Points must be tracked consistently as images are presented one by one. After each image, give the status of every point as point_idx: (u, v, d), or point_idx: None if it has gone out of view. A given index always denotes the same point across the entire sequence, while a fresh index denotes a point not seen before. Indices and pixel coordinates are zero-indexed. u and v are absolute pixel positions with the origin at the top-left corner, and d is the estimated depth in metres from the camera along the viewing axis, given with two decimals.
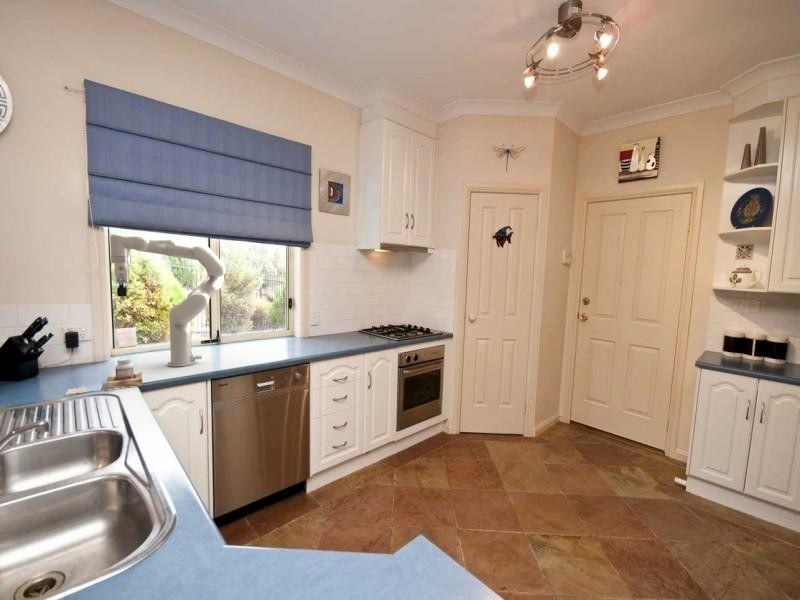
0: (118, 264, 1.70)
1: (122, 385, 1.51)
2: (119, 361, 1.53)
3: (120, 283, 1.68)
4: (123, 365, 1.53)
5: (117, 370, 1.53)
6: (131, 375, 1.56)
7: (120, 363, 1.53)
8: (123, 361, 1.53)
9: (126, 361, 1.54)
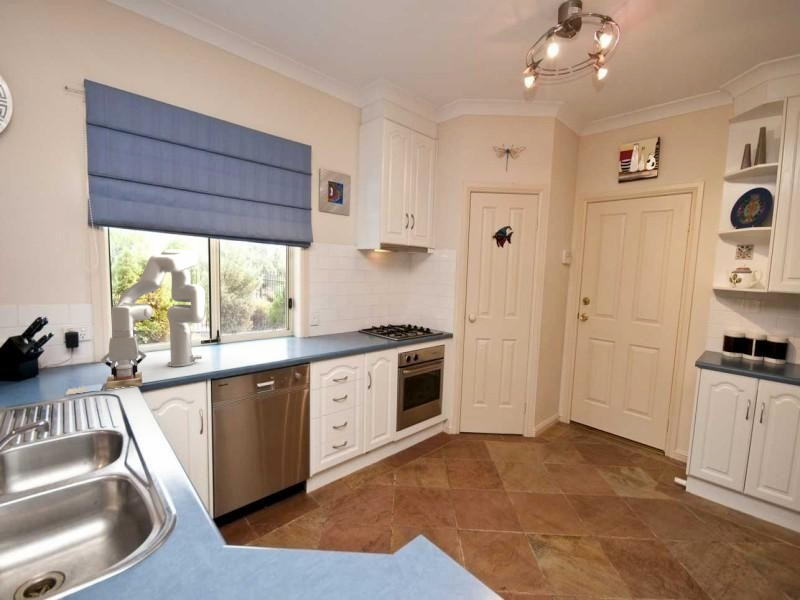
0: (136, 338, 1.57)
1: (122, 385, 1.51)
2: (119, 361, 1.53)
3: (142, 359, 1.59)
4: (123, 365, 1.53)
5: (117, 370, 1.53)
6: (131, 375, 1.56)
7: (120, 363, 1.53)
8: (123, 361, 1.53)
9: (126, 361, 1.54)
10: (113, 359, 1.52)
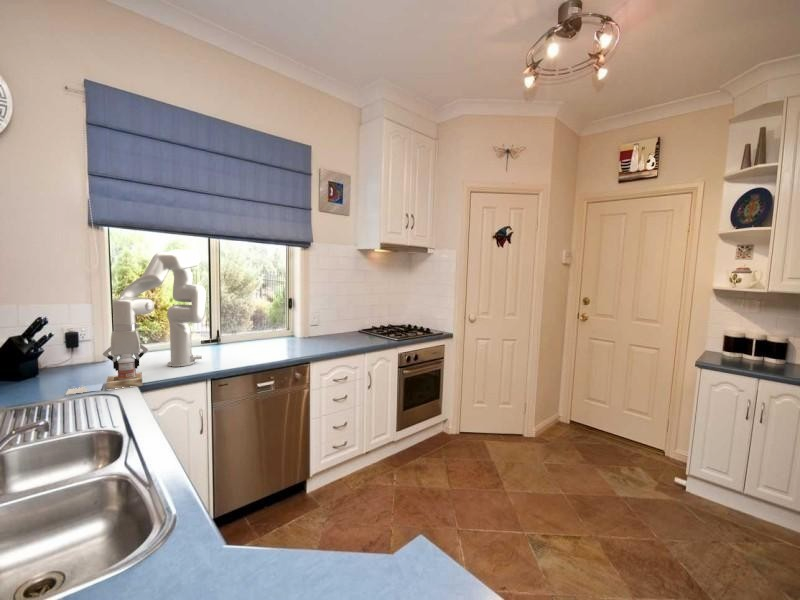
0: (137, 332, 1.57)
1: (122, 385, 1.51)
2: (121, 355, 1.54)
3: (144, 353, 1.59)
4: (125, 359, 1.54)
5: (119, 364, 1.53)
6: (133, 369, 1.56)
7: (122, 357, 1.54)
8: (125, 355, 1.54)
9: (128, 355, 1.55)
10: (115, 353, 1.52)
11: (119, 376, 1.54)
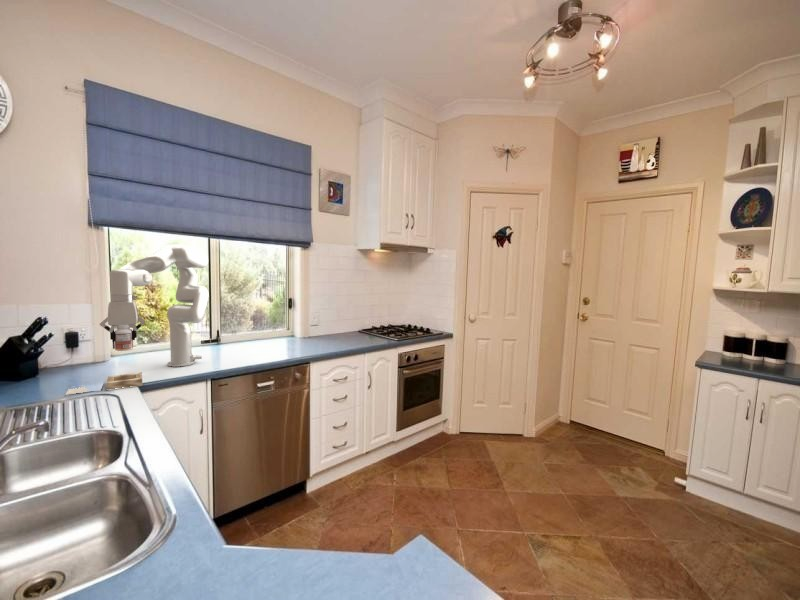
0: (135, 303, 1.56)
1: (122, 385, 1.51)
2: (118, 326, 1.52)
3: (141, 325, 1.58)
4: (122, 330, 1.53)
5: (116, 334, 1.52)
6: (130, 340, 1.55)
7: (119, 328, 1.52)
8: (122, 326, 1.53)
9: (125, 326, 1.53)
10: (112, 323, 1.51)
11: (116, 347, 1.52)
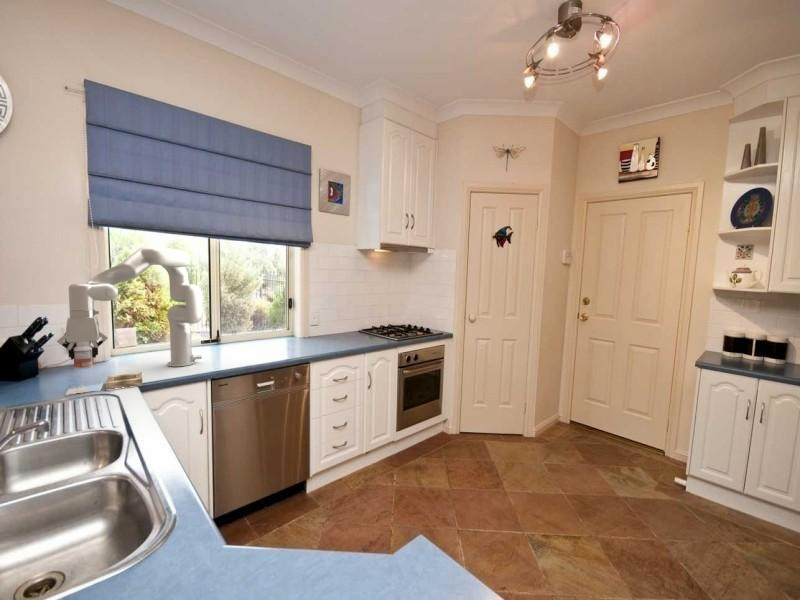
0: (96, 318, 1.48)
1: (122, 385, 1.51)
2: (77, 342, 1.45)
3: (103, 341, 1.51)
4: (82, 347, 1.45)
5: (75, 352, 1.44)
6: (90, 358, 1.47)
7: (78, 345, 1.45)
8: (82, 343, 1.45)
9: (85, 343, 1.46)
10: (70, 340, 1.43)
11: (75, 365, 1.45)
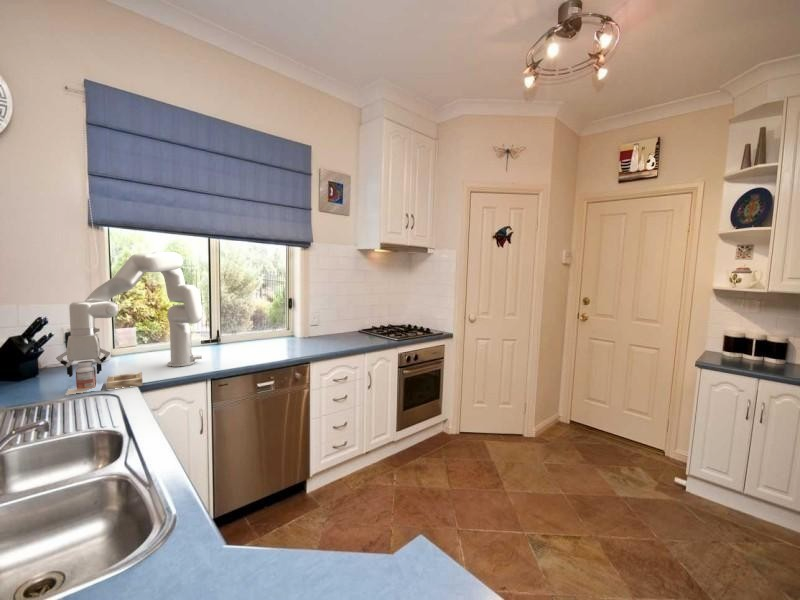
0: (97, 336, 1.49)
1: (122, 385, 1.51)
2: (79, 364, 1.46)
3: (106, 357, 1.52)
4: (84, 368, 1.46)
5: (77, 373, 1.45)
6: (93, 378, 1.48)
7: (80, 366, 1.46)
8: (84, 364, 1.46)
9: (87, 364, 1.47)
10: (71, 358, 1.44)
11: (77, 386, 1.46)
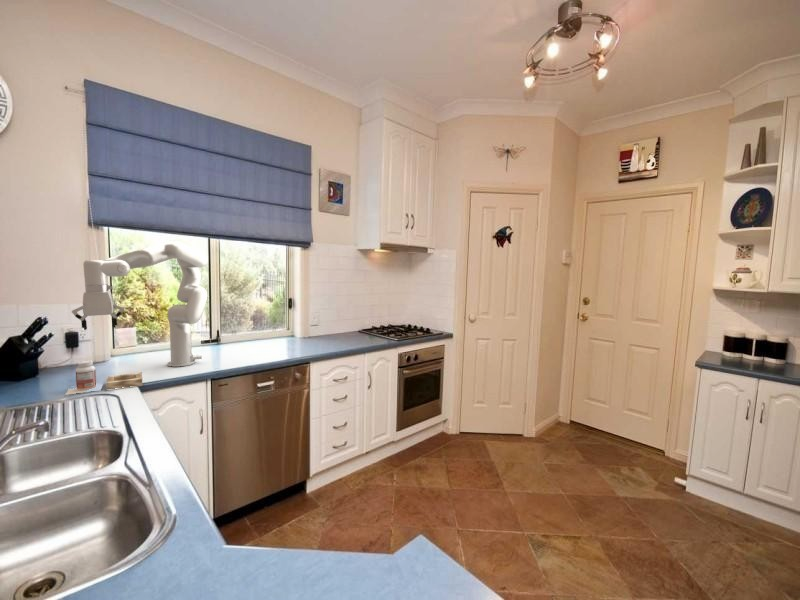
0: (110, 293, 1.57)
1: (122, 385, 1.51)
2: (79, 364, 1.46)
3: (121, 312, 1.60)
4: (84, 368, 1.46)
5: (77, 373, 1.45)
6: (93, 378, 1.48)
7: (80, 366, 1.46)
8: (84, 364, 1.46)
9: (87, 364, 1.47)
10: (87, 313, 1.52)
11: (77, 386, 1.46)
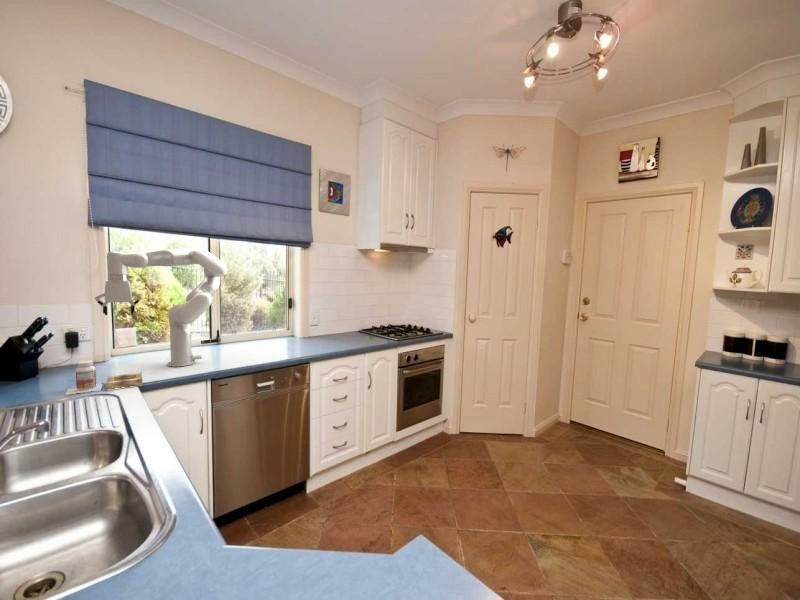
0: (129, 282, 1.71)
1: (122, 385, 1.51)
2: (79, 364, 1.46)
3: (139, 300, 1.74)
4: (84, 368, 1.46)
5: (77, 373, 1.45)
6: (93, 378, 1.48)
7: (80, 366, 1.46)
8: (84, 364, 1.46)
9: (87, 364, 1.47)
10: (108, 300, 1.66)
11: (77, 386, 1.46)
